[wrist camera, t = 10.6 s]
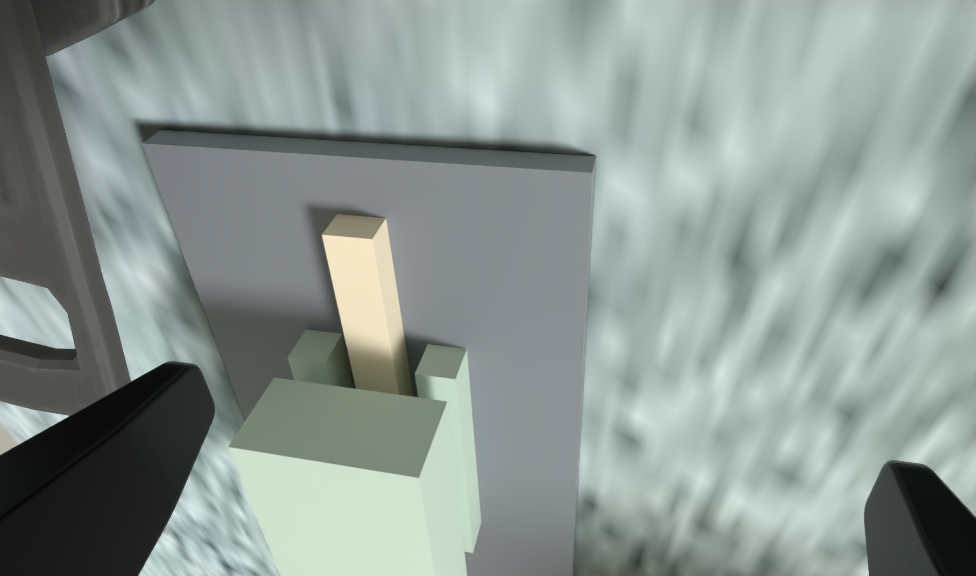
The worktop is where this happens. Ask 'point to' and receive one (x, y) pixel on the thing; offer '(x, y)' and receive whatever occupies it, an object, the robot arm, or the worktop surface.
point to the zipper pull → (51, 211)
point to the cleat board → (407, 293)
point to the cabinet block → (363, 467)
